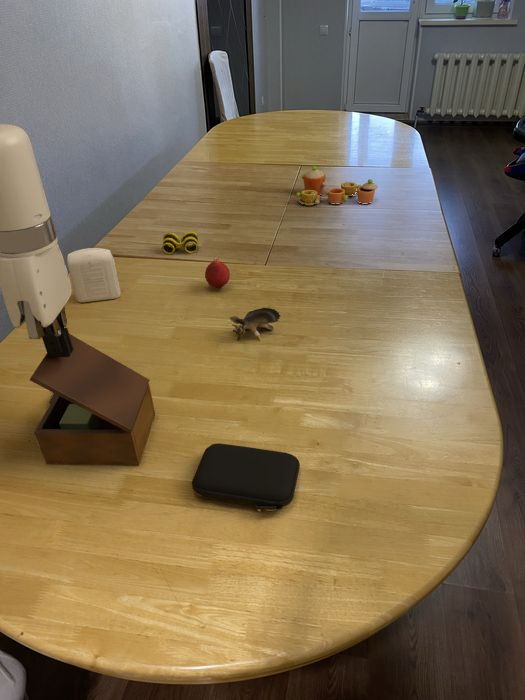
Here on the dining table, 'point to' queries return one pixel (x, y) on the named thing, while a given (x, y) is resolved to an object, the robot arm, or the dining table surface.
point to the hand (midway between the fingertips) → (61, 353)
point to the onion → (217, 274)
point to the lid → (94, 383)
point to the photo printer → (93, 274)
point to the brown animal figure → (255, 321)
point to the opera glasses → (173, 242)
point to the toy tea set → (333, 189)
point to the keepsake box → (93, 438)
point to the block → (79, 419)
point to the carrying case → (247, 476)
